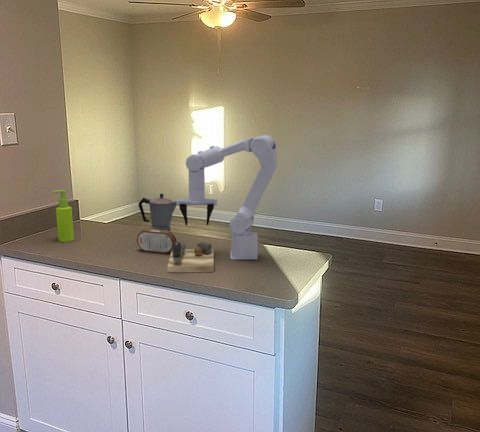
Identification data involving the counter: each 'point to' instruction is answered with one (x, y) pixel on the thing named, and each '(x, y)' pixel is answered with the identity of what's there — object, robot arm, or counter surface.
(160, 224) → the moka pot
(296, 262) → the counter surface
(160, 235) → the tin
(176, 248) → the lever
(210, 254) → the light wooden flat block
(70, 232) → the soap dispenser
